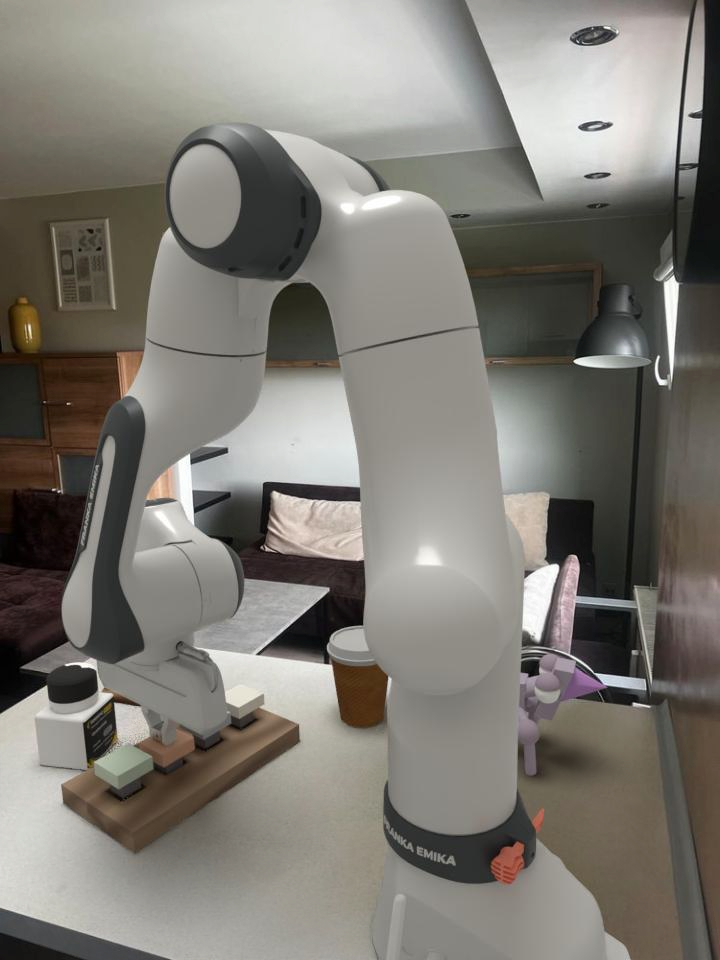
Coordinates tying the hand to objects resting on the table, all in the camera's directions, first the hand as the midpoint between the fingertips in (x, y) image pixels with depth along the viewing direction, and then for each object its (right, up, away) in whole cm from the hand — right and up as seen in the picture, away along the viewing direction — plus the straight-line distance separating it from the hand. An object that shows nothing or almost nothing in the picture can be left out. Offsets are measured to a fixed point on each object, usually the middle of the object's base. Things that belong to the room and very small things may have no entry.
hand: (163, 739), depth 84 cm
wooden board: (+2, -5, +4) cm, 7 cm away
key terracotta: (0, -4, +1) cm, 4 cm away
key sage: (-3, -4, -4) cm, 7 cm away
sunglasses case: (-8, -2, +23) cm, 24 cm away
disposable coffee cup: (+24, -3, +15) cm, 29 cm away
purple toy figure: (+45, -4, +6) cm, 45 cm away
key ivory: (+8, -1, +10) cm, 13 cm away
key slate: (+4, -2, +5) cm, 7 cm away
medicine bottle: (-13, -5, +8) cm, 16 cm away
